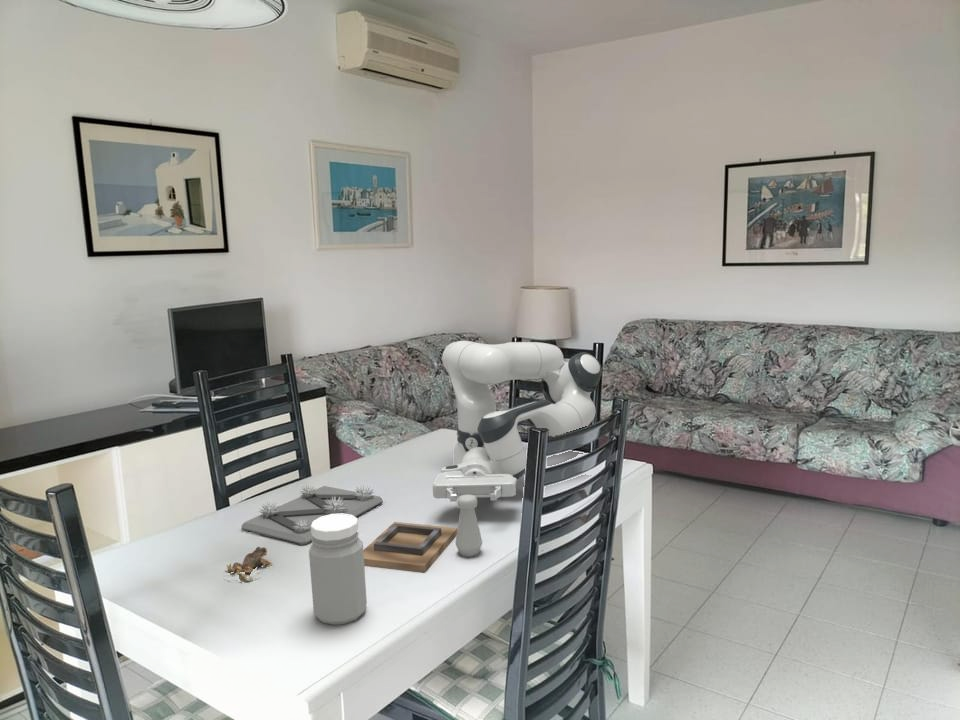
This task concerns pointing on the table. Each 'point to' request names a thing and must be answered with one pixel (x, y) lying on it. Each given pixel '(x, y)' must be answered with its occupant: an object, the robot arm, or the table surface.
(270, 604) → the table surface
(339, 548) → the jar
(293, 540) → the decorative plate
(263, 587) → the table surface
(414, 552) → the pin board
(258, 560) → the frog figurine
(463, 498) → the salt shaker
